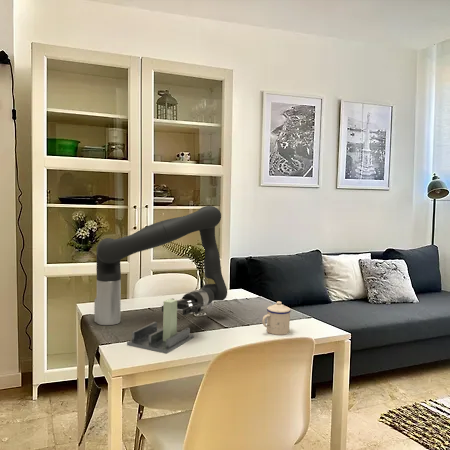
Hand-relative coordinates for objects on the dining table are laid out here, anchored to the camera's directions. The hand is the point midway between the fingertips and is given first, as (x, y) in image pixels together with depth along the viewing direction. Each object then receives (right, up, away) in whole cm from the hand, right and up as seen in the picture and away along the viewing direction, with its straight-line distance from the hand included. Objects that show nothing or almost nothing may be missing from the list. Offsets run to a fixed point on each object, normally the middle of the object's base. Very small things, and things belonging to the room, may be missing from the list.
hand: (173, 310), depth 157 cm
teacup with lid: (+37, -11, +15) cm, 42 cm away
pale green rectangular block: (-1, -10, -1) cm, 10 cm away
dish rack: (-4, -11, +1) cm, 12 cm away
